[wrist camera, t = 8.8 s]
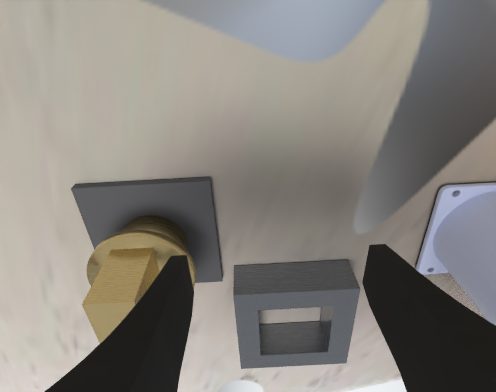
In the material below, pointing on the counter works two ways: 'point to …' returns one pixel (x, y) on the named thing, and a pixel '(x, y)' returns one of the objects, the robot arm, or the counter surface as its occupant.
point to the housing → (295, 296)
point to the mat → (156, 214)
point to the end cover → (130, 268)
